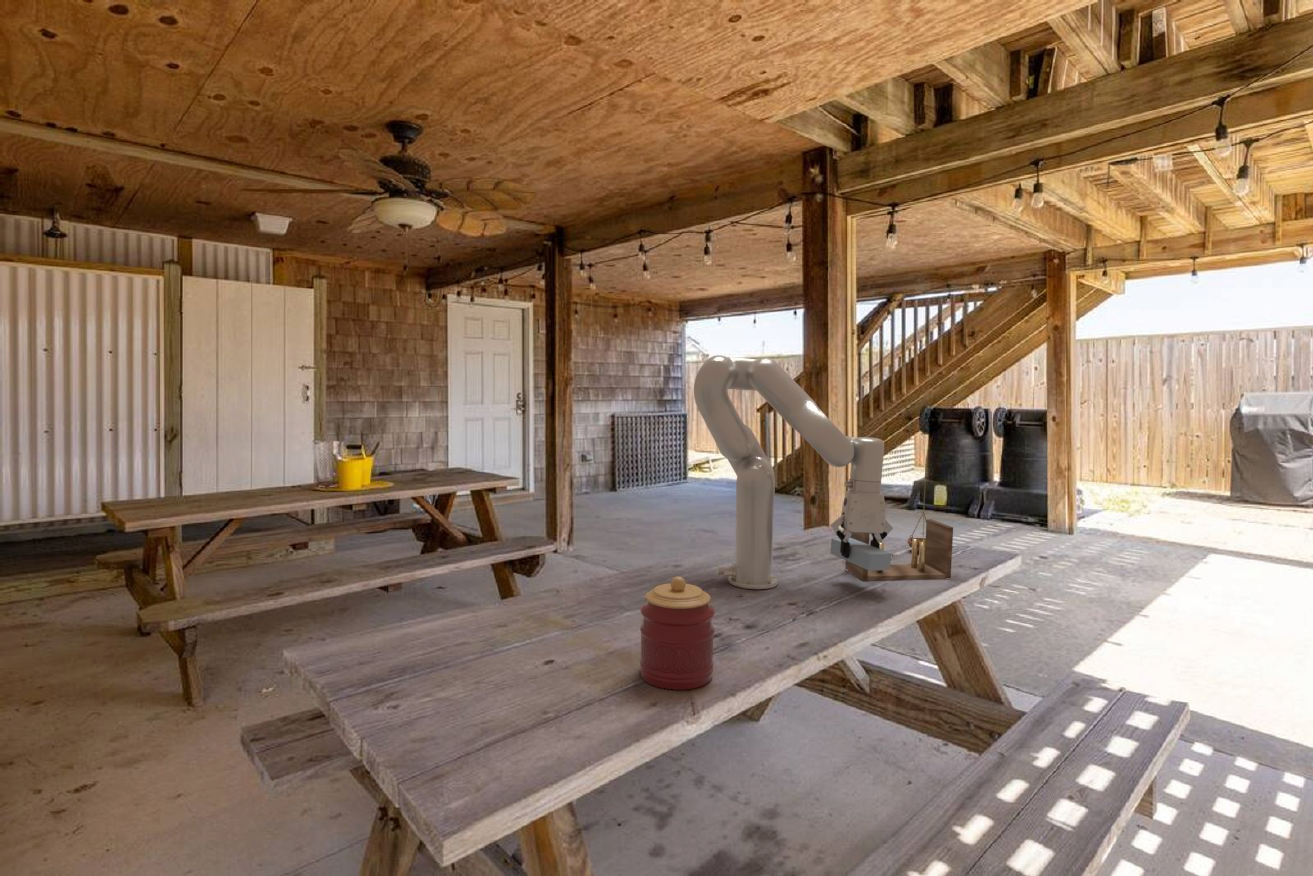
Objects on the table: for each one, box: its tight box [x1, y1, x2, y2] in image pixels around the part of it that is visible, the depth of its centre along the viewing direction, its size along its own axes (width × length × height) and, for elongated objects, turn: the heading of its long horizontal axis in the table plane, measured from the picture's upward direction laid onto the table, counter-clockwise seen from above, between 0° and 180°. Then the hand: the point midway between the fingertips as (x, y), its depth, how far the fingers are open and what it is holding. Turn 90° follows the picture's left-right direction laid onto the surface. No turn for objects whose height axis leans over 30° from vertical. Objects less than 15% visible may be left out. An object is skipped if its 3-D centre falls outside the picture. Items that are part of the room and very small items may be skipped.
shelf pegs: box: [870, 538, 926, 573], centre depth 189 cm, size 14×6×8 cm, turn 98°
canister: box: [639, 576, 716, 691], centre depth 120 cm, size 13×13×18 cm
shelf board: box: [830, 537, 892, 571], centre depth 173 cm, size 16×6×4 cm, turn 21°
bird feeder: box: [907, 456, 928, 552], centre depth 213 cm, size 9×9×30 cm
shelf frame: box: [844, 518, 954, 582], centre depth 188 cm, size 25×11×14 cm, turn 98°
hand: (859, 556), depth 174 cm, fingers closed on shelf board, 6 cm apart
